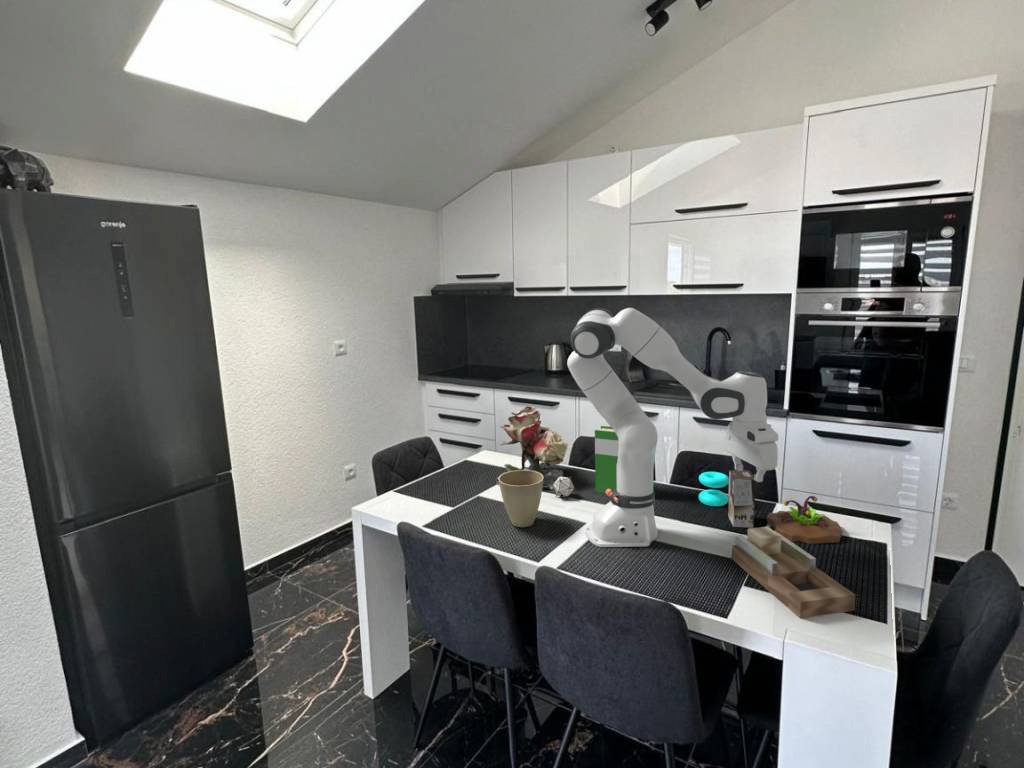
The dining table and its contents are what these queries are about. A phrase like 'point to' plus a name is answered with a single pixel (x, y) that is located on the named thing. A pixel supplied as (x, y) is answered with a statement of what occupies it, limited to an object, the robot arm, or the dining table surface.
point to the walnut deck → (798, 585)
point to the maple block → (765, 540)
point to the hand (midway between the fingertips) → (748, 475)
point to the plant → (805, 524)
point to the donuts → (715, 482)
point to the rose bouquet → (535, 444)
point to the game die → (563, 486)
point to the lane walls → (769, 562)
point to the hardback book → (606, 459)
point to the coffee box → (741, 498)
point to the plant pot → (521, 495)
